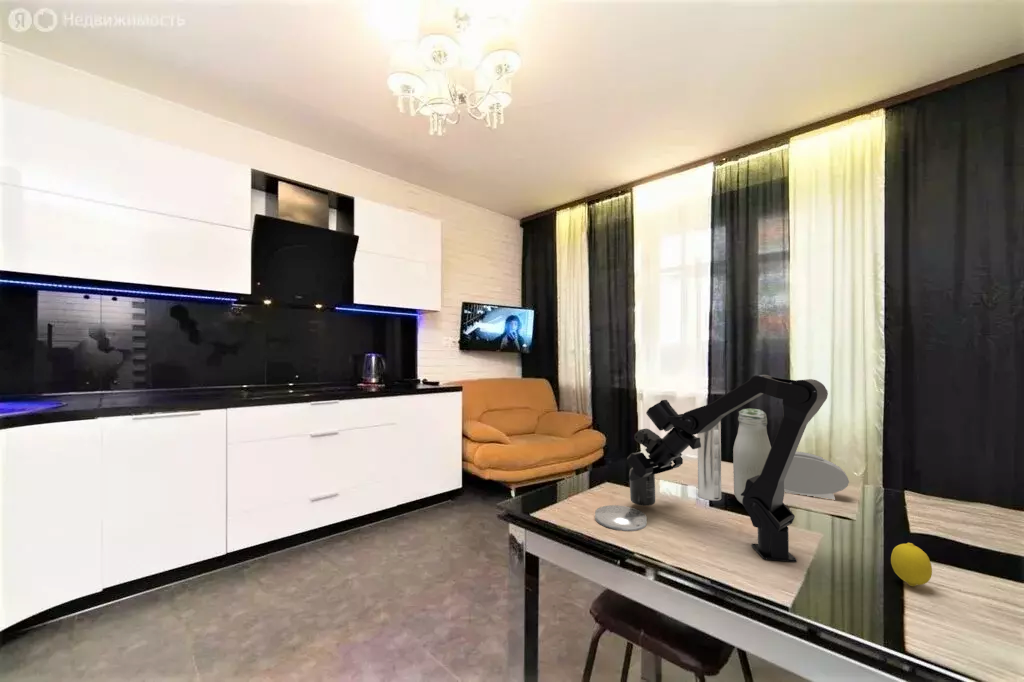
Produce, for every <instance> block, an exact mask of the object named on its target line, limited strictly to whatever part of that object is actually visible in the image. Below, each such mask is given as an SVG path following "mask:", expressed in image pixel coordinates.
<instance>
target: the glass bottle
mask: <svg viewBox="0 0 1024 682" xmlns="http://www.w3.org/2000/svg"><path fill="white" fill-rule="evenodd" d="M737 421H738V429H737V434H736V437H735V440H734V444H733V447H732V448H733V449H732V451H733V453H732V457H733V458H732V459H733V461H732V465H733V472H732V473H733V494H734V496H735V498H736V500H737V501H738V502H739V503H740V504H742V505H743V503H742V500H743V497H744V496H741V494H742V493H743V492H744V490H745V486H746V481H747V479H750V478H752V477H754V476H757V475H759V476H760V475H761V473H762V470H763V467H764V465H765V462H766V460H767V457H768V455H769V452H770V450H771V447H772V445H771V442H770V439H769V435H768V429H767V425H768V418H767V413H766V412H765V411H763V410H762V409H759V408H758V409H757V408H742V409H741V410H739V411H738V417H737Z"/></svg>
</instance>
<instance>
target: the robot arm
mask: <svg viewBox="0 0 1024 682" xmlns="http://www.w3.org/2000/svg"><path fill="white" fill-rule="evenodd" d="M828 392H829V391H828V389H827V388H826V386H825V384H823V383H822V382H821V381H818V380H817V379H814V378H813V379H812V378H809V379H806V378H805V379H797V380H793V379H789V378H781V377H775V376H770V375H768V374H755V375H753V376H751V377H750V378H749V380H747V381H746V382H744V383H742V384H740V385H739V386H737V387H736V388H733V389H732V390H730V391H729V392H727V393H726V394H723V395H722V396H721V397H719V398H717V399H715V400H714V401H712V402H711V403H708V404H705V405H703V406H699V407H696V408H694V409H691V410H688V411H685V412H684V413H679V414H678V412H677V411H676V410H675V409H674V408H673V407H672V405H671V403H670V402H669V401H668V400H667V399H661V400H660V401H659V402H657V403H656V404H654V405H653V406H650V407H649V408H648V409H647V410H646V415H647V417H648V418H649V420H651V422H652V423H653V424H654V425H655V427H656V428H657V429H658V430H659V431H660V432H661V431H664V432H667V433H666V434H665V435H664V436H663V437H661V436H659V435H658V434H657V433H656V432H654V431H653V430H652V429H649V428H642V429H639V430H637V431H636V433H634V441H636V442H637V443H638V444H640V445H642V446H643V447H645V449H644V451H645V452H646V453H647V454H648V455H647V456H648V459H647V456H646V455H645V454H644V452H640V451H638V452H633V453H630V454H629V455H628V456H627V458H626V460H627V462H628V463H629V464H630V466H631V468H633V469H632V472H631V474H630V473H629V477H628V479H629V481H630V480H631V481H633V480H637V479H641V478H644V477H648V476H651V475H650V474H651V473H652V472H653V471H654V474H655V475H657V474H661V473H664V472H669V471H671V470H674V469H676V468H679V467H681V465H683V463H684V461H683V458H682V455H683V454H682V453H683V452H684V451H685V450H687V449H688V448H689V447H690V448H691V449H692V450H698V448H701V443H700V438H698V437H697V436H695V435H697V434H699V433H704V432H708V431H710V430H711V429H712V428H713V427H715V426H716V425H717V424H718V423H719V422H720V420H721V421H722V419H723V418H725V417H726V416H728V415H729V414H730V413H732V412H734V411H736V410H738V409H739V408H741V407H743V406H744V405H746V404H748V403H750V402H752V401H754V400H755V399H757V398H759V397H761V396H762V395H764V394H765V395H767V396H770V397H773V398H776V399H780V400H782V420H781V422H780V424H779V426H778V430H777V432H776V435H775V437H774V440H773V442H772V445H771V450H770V452H769V455H768V457H767V460H766V462H765V465H764V467H763V470H762V473H761V475H760V476H759V475H757V476H754V477H752V478H750V479H747V481H746V486H745V490H744V492H743V493H742V494H741V496H744V497H743V500H742V503H743V504H742V503H741V504H742V506H743V508H744V509H745V511H746V513H747V514H748V515H749V518H750V521H751V524H752V526H753V527H754V528H757V543H751V548H753V550H754V551H756V553H757V554H759V556H760V557H761V558H762V559H764V560H767V561H779V562H780V561H781V562H782V561H783V562H793V563H796V562H797V558H796V557H795V556H794V555H793V554H791V552H789V551H790V546H789V545H790V543H789V542H790V541H789V540H790V539H789V538H790V537H789V527H788V526H789V525H792V524H793V522H794V520H795V517H796V516H795V514H794V513H793V512H792V511H791V509H790V508H789V507H788V506H787V505H786V504H785V503H784V497H785V493H784V479H785V477H786V475H787V472H788V470H789V467H790V465H791V462H792V460H793V457H794V455H795V453H796V452H797V450H798V447H799V445H800V443H801V440H802V439H803V435H804V433H805V430H806V427H807V425H808V423H810V421H811V420H812V419H813V417H815V416H816V415H817V413H818V412H819V411H820V409H821V408H822V406H823V405H824V404H825V402H826V400H827V399H828V394H829V393H828Z"/></svg>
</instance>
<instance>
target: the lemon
mask: <svg viewBox="0 0 1024 682" xmlns="http://www.w3.org/2000/svg"><path fill="white" fill-rule="evenodd" d="M890 564H891V567H892V570H893V572H894V573H895V574H896V575H897V576H898V577H899V579H901V580H902V581H904V582H905V583H907V585H909V587H916V586H922V585H926V584H927V583H928V582H929V581H930V580H931V578H932V576H933V575H932V574H933V568H932V567H933V566H932V563H931V561H930V557H929V556H928V554H927V553H926V552H925V551H923V549H921V548H920V547H919V546H916V545H915V544H914V543H912V542H907V543H900V544H898V545H895V546H894V548H893V549H892V551H891V556H890Z"/></svg>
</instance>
